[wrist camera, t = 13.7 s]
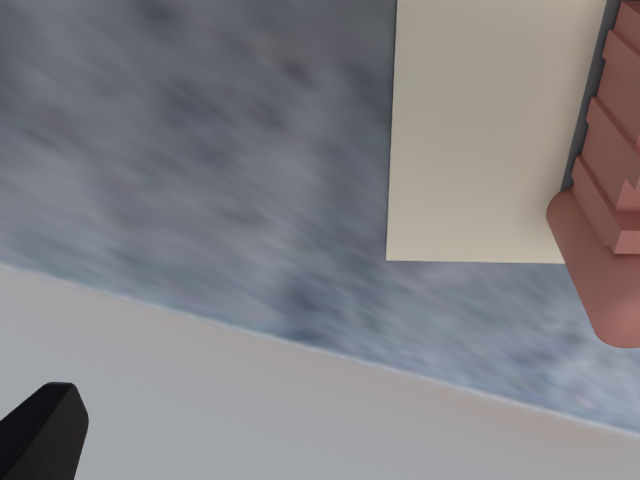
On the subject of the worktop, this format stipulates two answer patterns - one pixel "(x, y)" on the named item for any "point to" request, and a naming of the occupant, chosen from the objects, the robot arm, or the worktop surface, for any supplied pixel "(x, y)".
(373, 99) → the worktop surface
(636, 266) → the fixed fence panel
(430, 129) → the card
